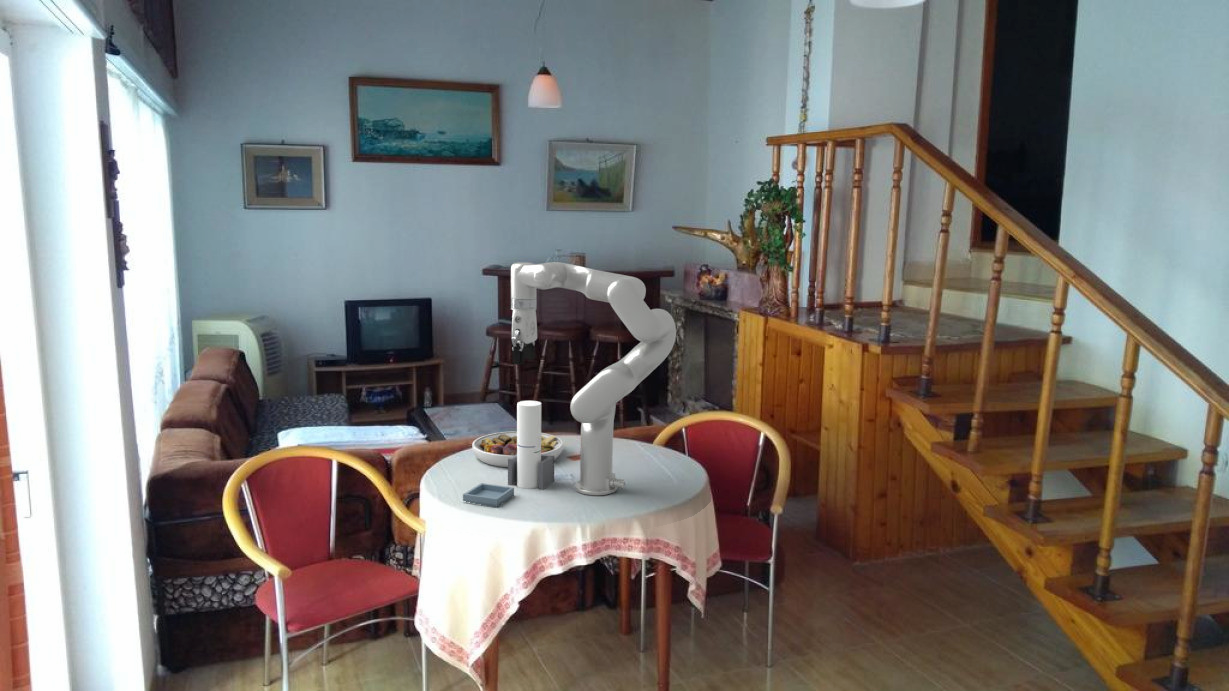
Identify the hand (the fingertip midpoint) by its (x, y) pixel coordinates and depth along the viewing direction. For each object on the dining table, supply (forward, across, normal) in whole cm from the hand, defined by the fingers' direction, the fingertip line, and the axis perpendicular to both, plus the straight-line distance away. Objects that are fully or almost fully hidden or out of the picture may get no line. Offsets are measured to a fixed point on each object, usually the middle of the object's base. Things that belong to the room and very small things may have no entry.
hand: (523, 361), depth 250 cm
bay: (+37, -3, -3) cm, 37 cm away
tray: (+37, -20, +4) cm, 42 cm away
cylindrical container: (+37, -4, -3) cm, 37 cm away
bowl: (+37, +22, +10) cm, 45 cm away
